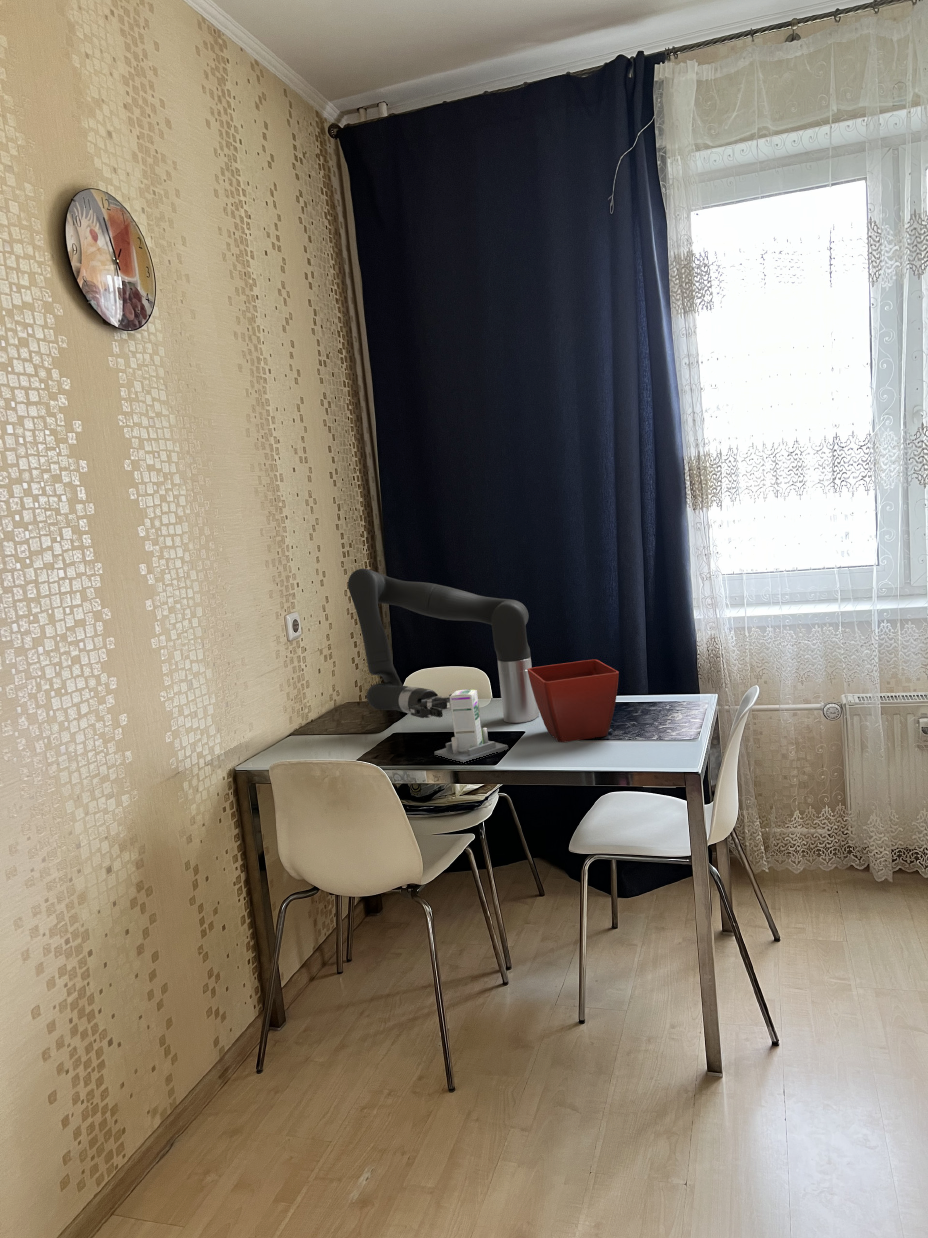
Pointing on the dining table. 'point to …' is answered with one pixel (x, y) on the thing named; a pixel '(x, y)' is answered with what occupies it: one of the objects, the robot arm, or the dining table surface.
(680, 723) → the dining table surface
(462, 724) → the syrup box
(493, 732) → the dining table surface
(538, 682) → the plant pot
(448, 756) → the pegged rail plate
